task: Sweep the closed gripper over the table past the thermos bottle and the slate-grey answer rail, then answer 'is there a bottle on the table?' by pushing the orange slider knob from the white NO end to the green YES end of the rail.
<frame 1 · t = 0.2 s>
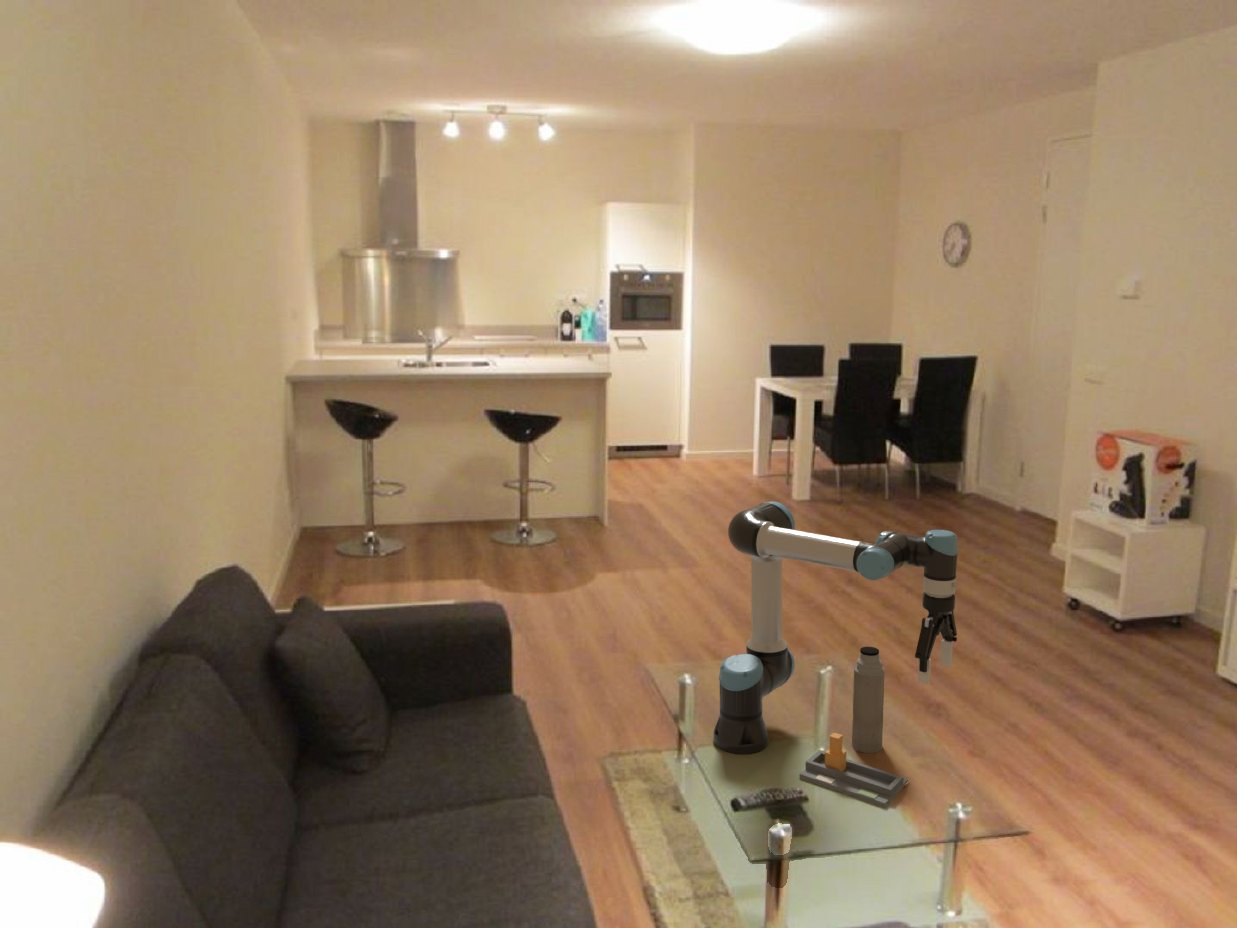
hand: (935, 674, 237), 28 cm above the table, fingers open, 13 cm apart
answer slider: (835, 752, 243), point 6 cm above the table, slide at 0.0 cm
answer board: (853, 780, 241), on the table
thermos bottle: (866, 746, 259), on the table
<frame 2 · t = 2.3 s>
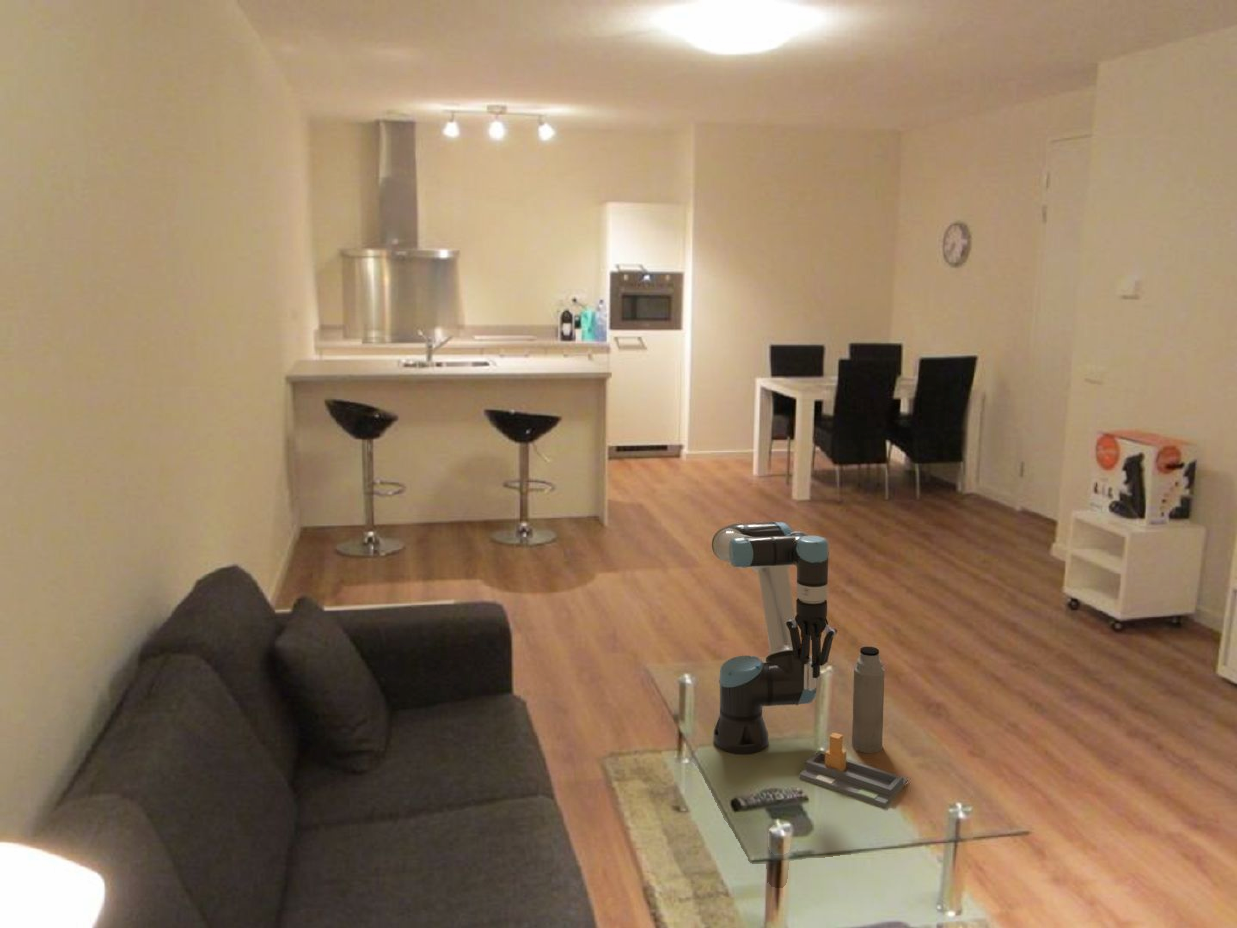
hand: (810, 687, 239), 24 cm above the table, fingers closed
nothing on the table moved.
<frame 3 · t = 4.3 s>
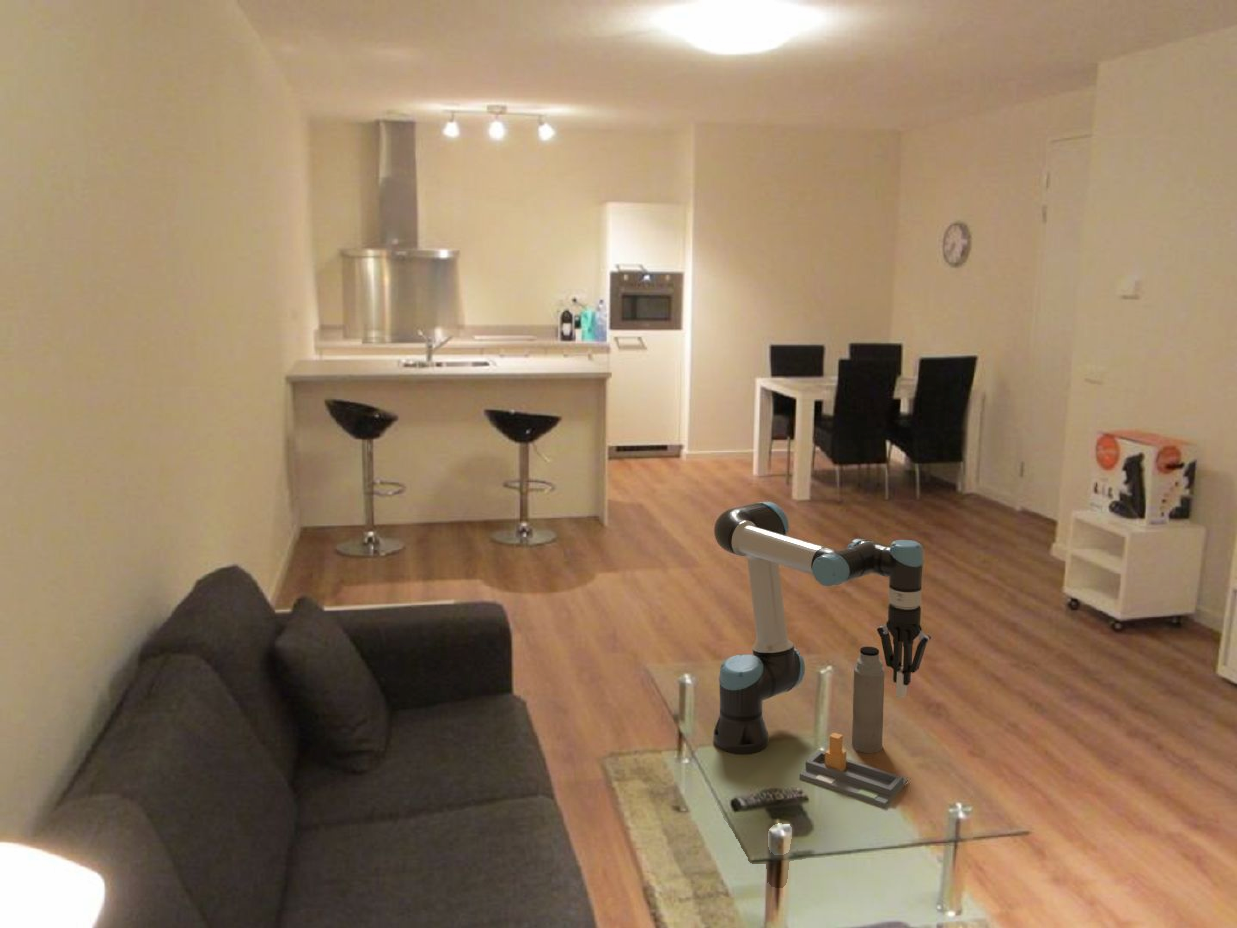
hand: (901, 695, 233), 24 cm above the table, fingers closed
nothing on the table moved.
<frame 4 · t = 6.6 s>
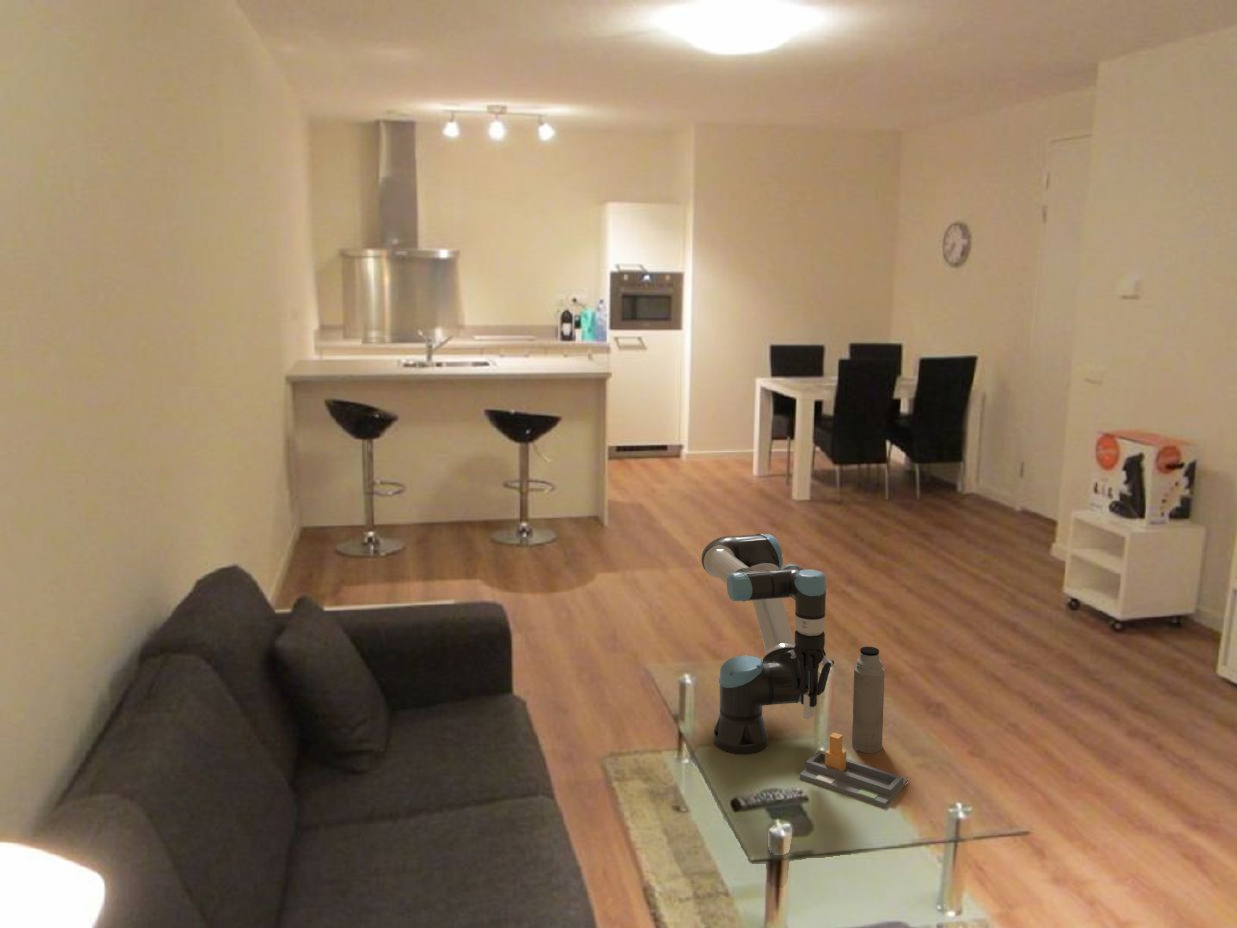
hand: (808, 716, 246), 14 cm above the table, fingers closed
nothing on the table moved.
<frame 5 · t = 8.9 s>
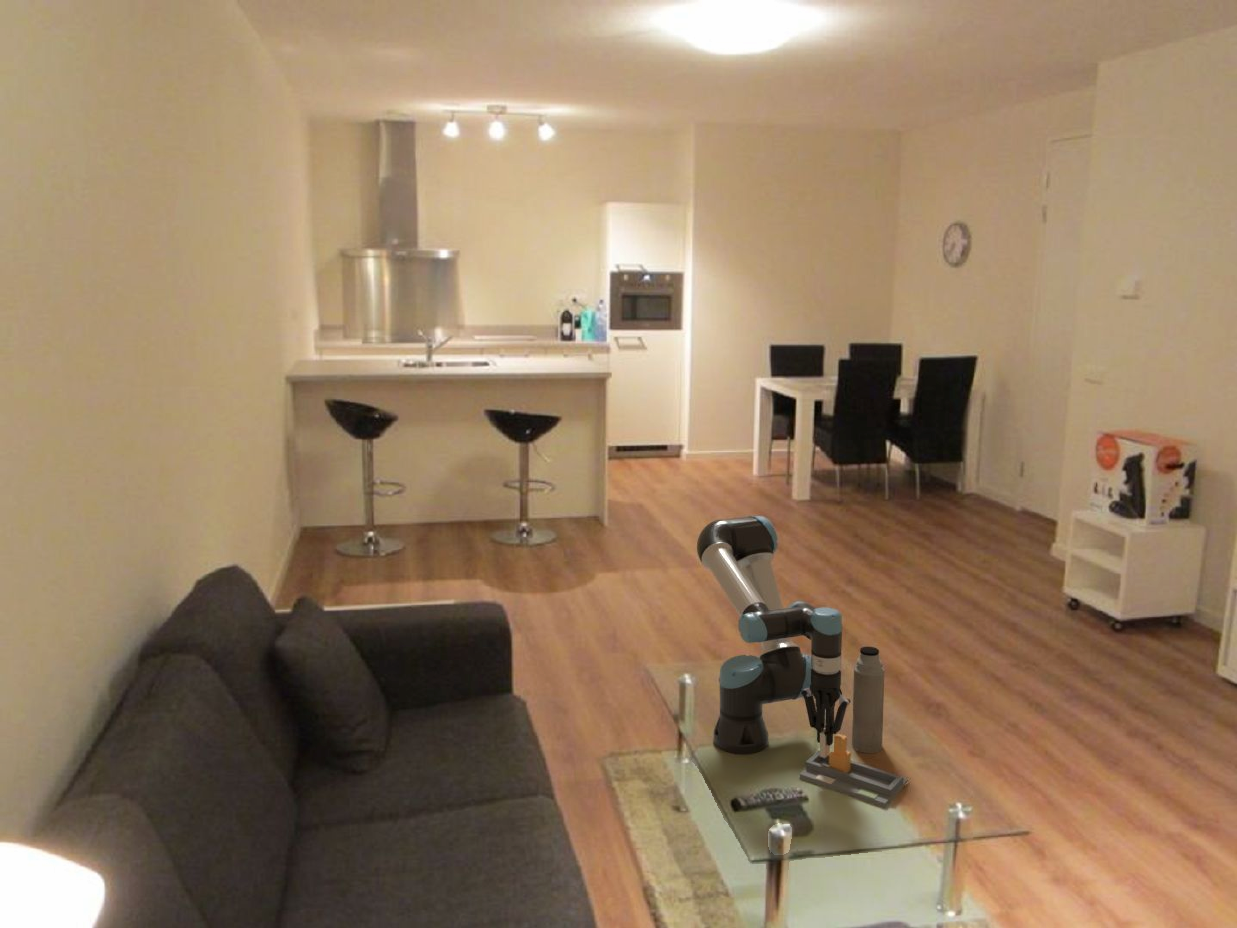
hand: (824, 754, 245), 5 cm above the table, fingers closed
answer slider: (840, 753, 242), point 6 cm above the table, slide at 1.2 cm, touching gripper
everything else where it was.
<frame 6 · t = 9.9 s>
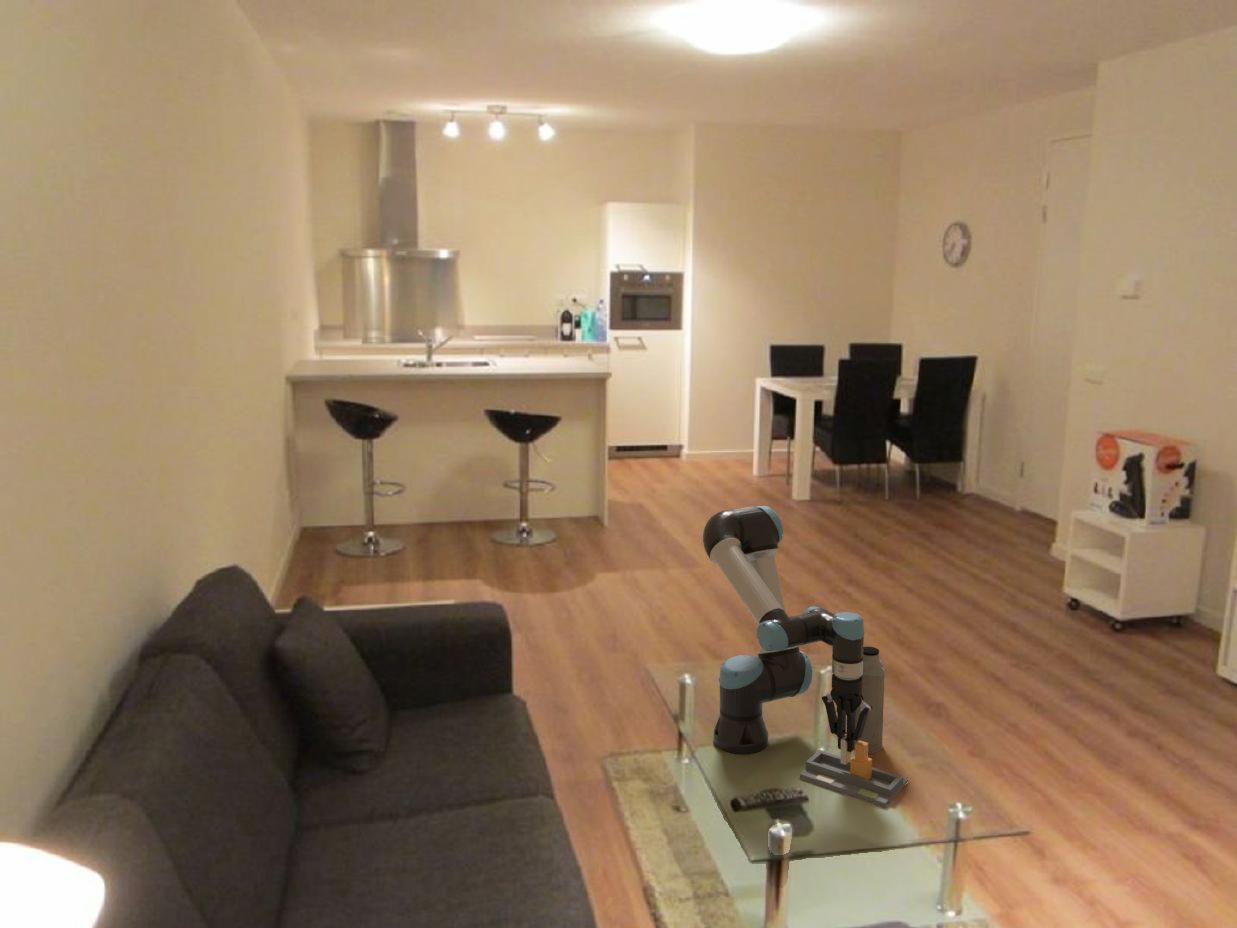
hand: (845, 761, 241), 5 cm above the table, fingers closed
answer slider: (861, 760, 239), point 6 cm above the table, slide at 7.0 cm, touching gripper
everything else where it was.
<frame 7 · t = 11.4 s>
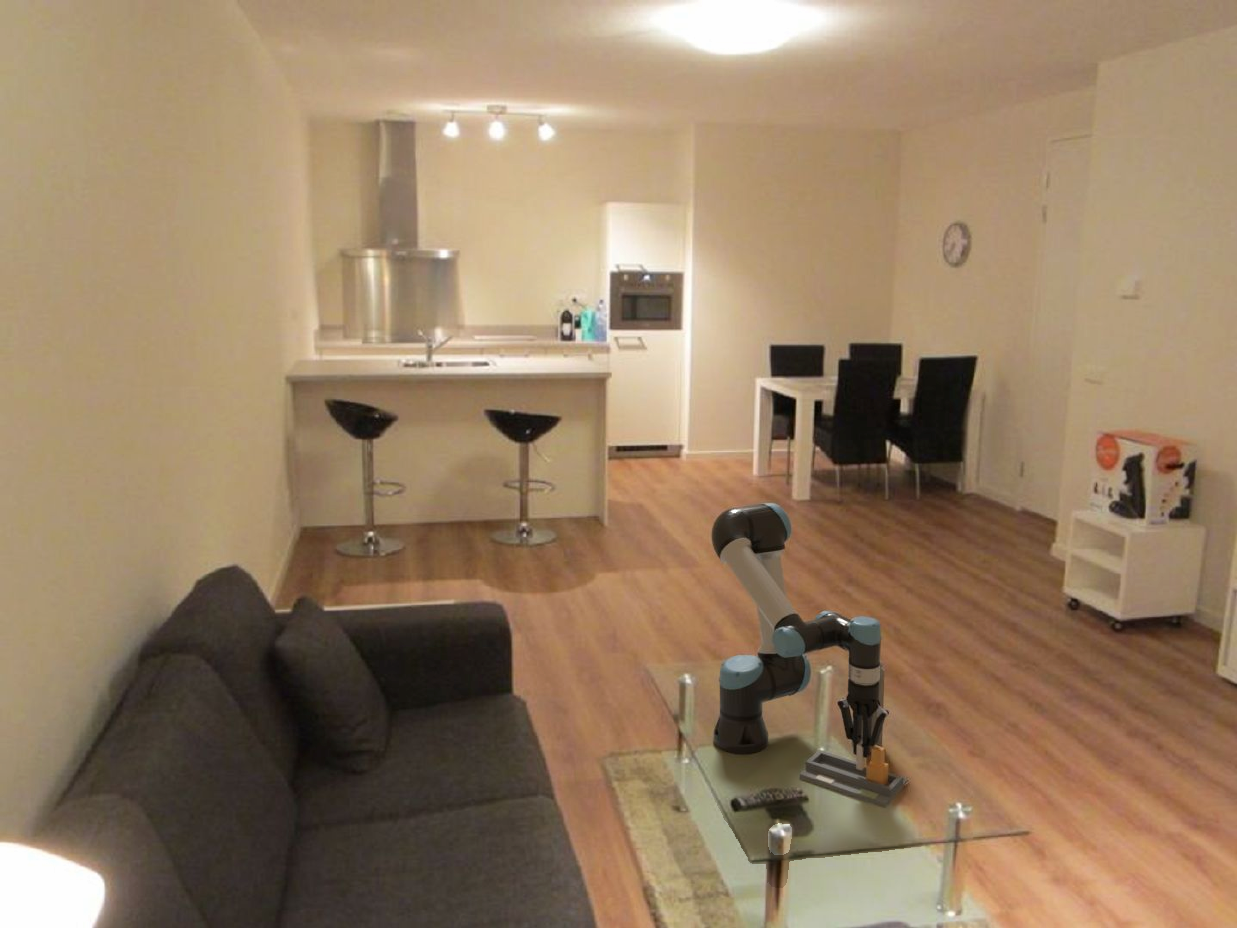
hand: (861, 767, 239), 4 cm above the table, fingers closed
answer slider: (877, 765, 236), point 6 cm above the table, slide at 11.3 cm, touching gripper
everything else where it was.
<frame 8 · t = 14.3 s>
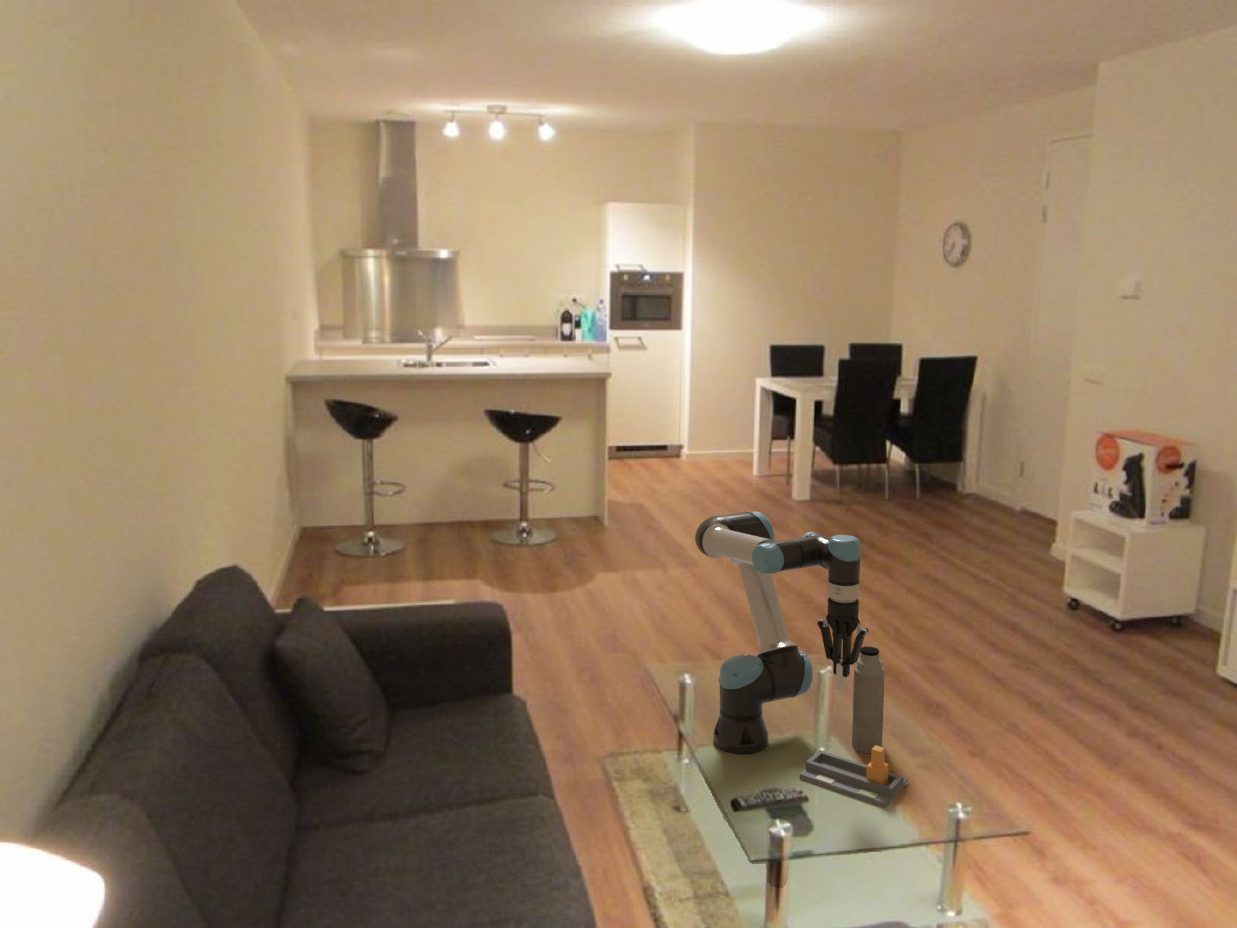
hand: (841, 687, 239), 24 cm above the table, fingers closed
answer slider: (877, 765, 236), point 6 cm above the table, slide at 11.3 cm
everything else where it was.
at the end: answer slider slide at 11.3 cm; thermos bottle moved 0.2 cm from its start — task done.
